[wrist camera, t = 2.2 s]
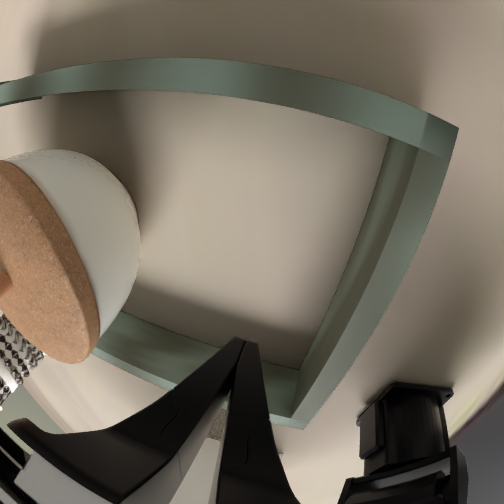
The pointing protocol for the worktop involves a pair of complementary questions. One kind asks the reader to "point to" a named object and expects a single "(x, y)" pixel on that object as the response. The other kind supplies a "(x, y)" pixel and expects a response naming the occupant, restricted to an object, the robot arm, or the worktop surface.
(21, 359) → the decorative candle
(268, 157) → the worktop surface
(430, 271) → the worktop surface
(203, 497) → the milk
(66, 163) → the lidded jar
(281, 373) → the green shallow rectangular frame
